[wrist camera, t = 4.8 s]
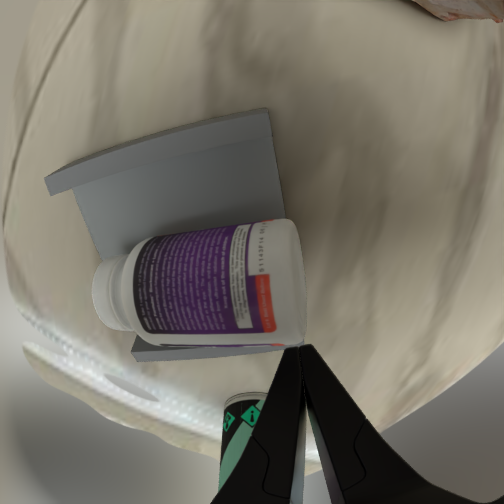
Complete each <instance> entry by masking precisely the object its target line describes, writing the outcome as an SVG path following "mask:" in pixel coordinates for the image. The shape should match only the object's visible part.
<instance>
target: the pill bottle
mask: <svg viewBox="0 0 504 504" xmlns="http://www.w3.org/2000/svg"><path fill="white" fill-rule="evenodd" d="M92 298H93V303H94V307H95V310H96V312H97V314H98V316H99V318H100V319H101V321H102V322H103V323H104V324H105V325H106V326H108V327H109V328H111V329H114V330H123V331H135V332H136V333H137V334H138V335H139V336H140V337H141V338H142V339H143V340H145V341H146V342H148V343H150V344H153V345H158V346H168V347H265V346H283V345H293V344H298V343H300V342H302V341H303V339H304V337H305V333H306V324H307V292H306V280H305V271H304V263H303V256H302V250H301V244H300V239H299V235H298V232H297V228H296V226H295V224H294V223H293V222H292V221H291V220H289V219H272V220H264V221H257V222H250V223H244V224H237V225H230V226H223V227H216V228H210V229H202V230H196V231H190V232H183V233H176V234H169V235H161V236H155V237H151V238H148V239H145V240H143V241H142V242H140V243H139V244H137V245H136V246H135V247H134V249H133V250H132V251H131V253H130V254H123V255H118V256H112V257H108V258H106V259H105V260H103V261H102V262H101V263H100V265H99V266H98V268H97V270H96V272H95V274H94V278H93V283H92Z"/></svg>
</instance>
